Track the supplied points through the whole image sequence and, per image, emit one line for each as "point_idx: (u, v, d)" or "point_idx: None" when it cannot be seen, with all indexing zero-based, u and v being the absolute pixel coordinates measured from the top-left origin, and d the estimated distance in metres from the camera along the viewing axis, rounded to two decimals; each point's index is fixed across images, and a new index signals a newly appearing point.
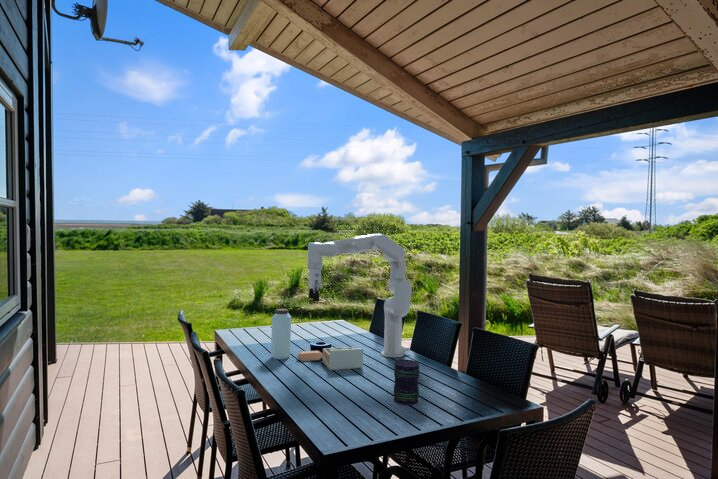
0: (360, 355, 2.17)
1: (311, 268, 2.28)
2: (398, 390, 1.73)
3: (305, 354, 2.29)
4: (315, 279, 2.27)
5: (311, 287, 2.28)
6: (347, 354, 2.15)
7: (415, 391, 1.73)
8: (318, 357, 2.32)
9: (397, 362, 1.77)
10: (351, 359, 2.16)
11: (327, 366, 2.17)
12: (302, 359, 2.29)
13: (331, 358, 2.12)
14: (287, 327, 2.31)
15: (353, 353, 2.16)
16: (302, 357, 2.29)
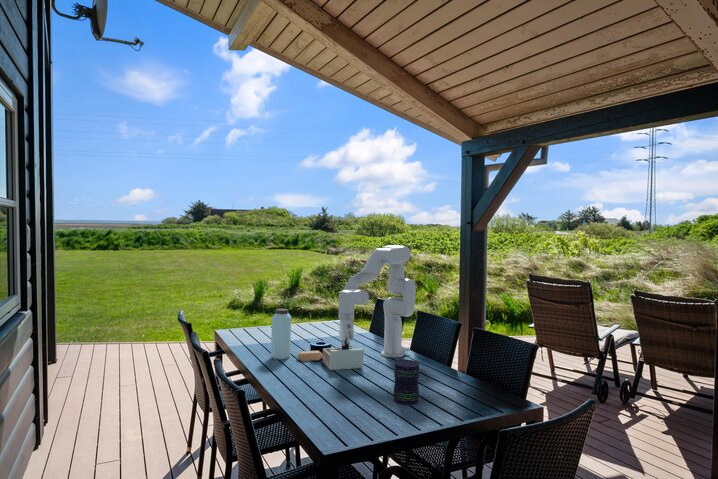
0: (360, 355, 2.17)
1: (343, 318, 2.14)
2: (398, 390, 1.73)
3: (305, 354, 2.29)
4: (347, 330, 2.12)
5: (343, 339, 2.14)
6: (347, 354, 2.14)
7: (415, 391, 1.73)
8: (318, 357, 2.32)
9: (397, 362, 1.77)
10: (351, 359, 2.15)
11: (327, 366, 2.17)
12: (302, 359, 2.29)
13: (331, 358, 2.12)
14: (287, 327, 2.31)
15: (354, 354, 2.15)
16: (302, 357, 2.29)
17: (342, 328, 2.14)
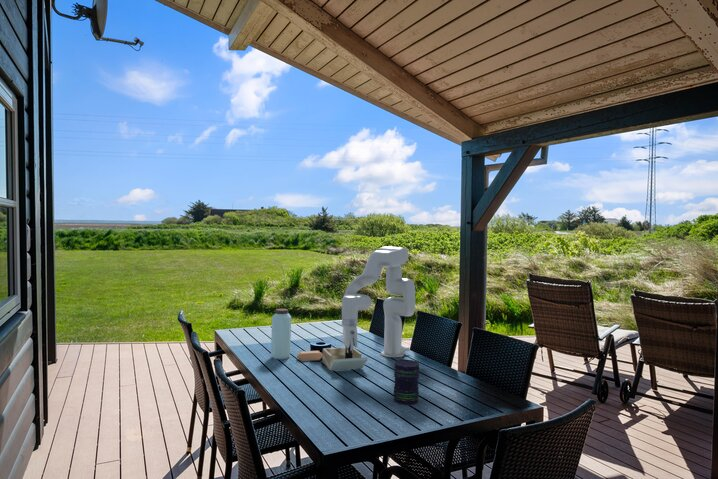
0: (363, 362, 2.13)
1: (346, 325, 2.08)
2: (398, 390, 1.73)
3: (305, 354, 2.29)
4: (351, 337, 2.07)
5: (346, 345, 2.09)
6: (350, 363, 2.10)
7: (415, 391, 1.73)
8: (318, 357, 2.32)
9: (397, 362, 1.77)
10: (353, 365, 2.13)
11: (327, 366, 2.17)
12: (302, 359, 2.29)
13: (333, 365, 2.09)
14: (287, 327, 2.31)
15: (356, 362, 2.11)
16: (302, 357, 2.29)
17: (345, 334, 2.09)
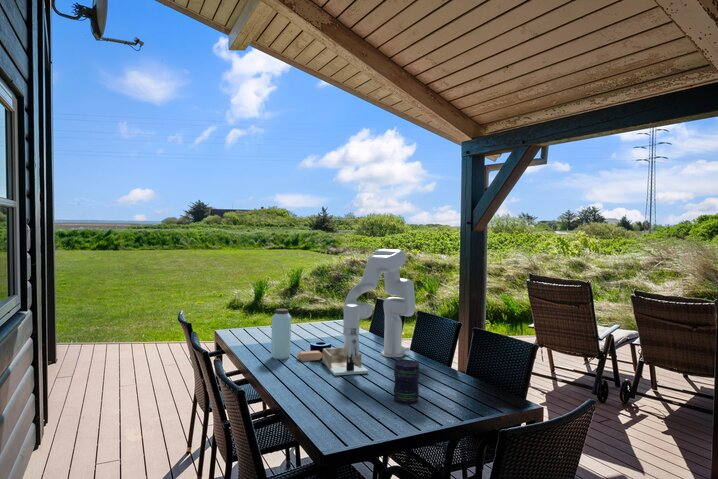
0: None
1: (348, 334, 2.06)
2: (398, 390, 1.73)
3: (305, 354, 2.29)
4: (353, 346, 2.04)
5: (348, 355, 2.06)
6: None
7: (415, 391, 1.73)
8: (318, 357, 2.32)
9: (397, 362, 1.77)
10: None
11: (327, 366, 2.17)
12: (302, 359, 2.29)
13: None
14: (287, 327, 2.31)
15: None
16: (302, 357, 2.29)
17: (347, 344, 2.06)
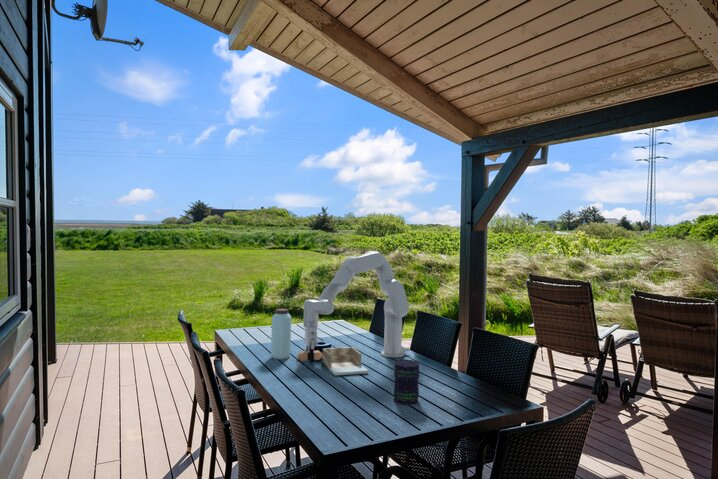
0: None
1: (307, 326, 2.29)
2: (398, 390, 1.73)
3: (305, 354, 2.29)
4: (311, 337, 2.27)
5: (307, 345, 2.29)
6: None
7: (415, 391, 1.73)
8: (318, 357, 2.32)
9: (397, 362, 1.77)
10: None
11: (327, 366, 2.17)
12: (302, 359, 2.29)
13: None
14: (287, 327, 2.31)
15: None
16: (302, 357, 2.29)
17: (306, 335, 2.29)
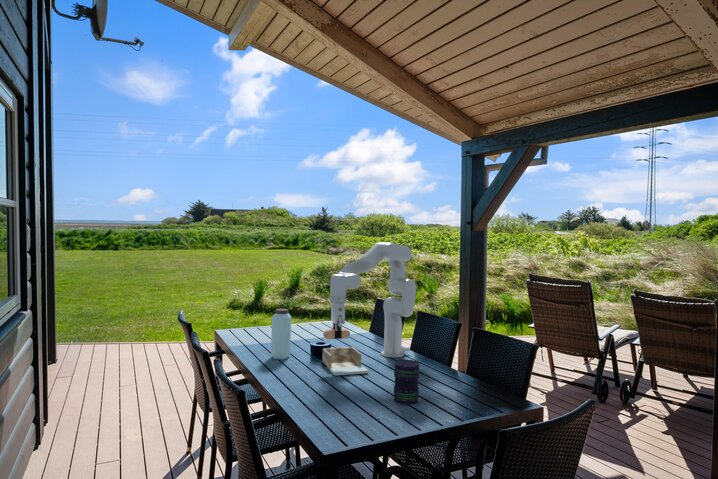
0: None
1: (334, 302, 2.14)
2: (398, 390, 1.73)
3: (332, 332, 2.15)
4: (339, 314, 2.13)
5: (334, 322, 2.14)
6: None
7: (415, 391, 1.73)
8: (346, 335, 2.17)
9: (397, 362, 1.77)
10: None
11: (327, 366, 2.17)
12: (329, 337, 2.14)
13: None
14: (287, 327, 2.31)
15: None
16: (329, 335, 2.14)
17: (333, 312, 2.15)
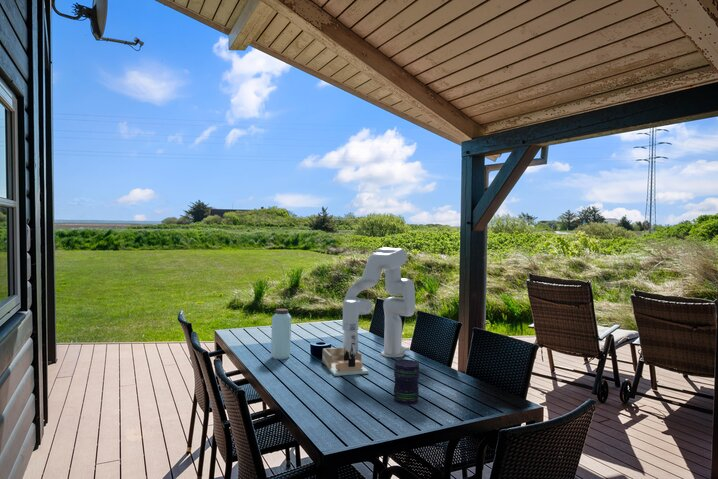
0: None
1: (347, 329, 2.07)
2: (398, 390, 1.73)
3: (345, 364, 2.08)
4: (352, 341, 2.06)
5: (347, 350, 2.08)
6: None
7: (415, 391, 1.73)
8: (359, 367, 2.10)
9: (397, 362, 1.77)
10: None
11: (327, 366, 2.17)
12: (341, 369, 2.07)
13: None
14: (287, 327, 2.31)
15: None
16: (341, 367, 2.07)
17: (346, 339, 2.08)
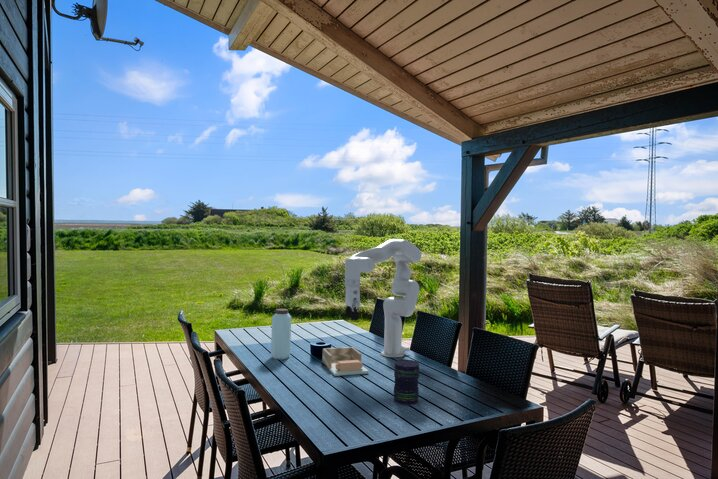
0: None
1: (349, 285, 2.16)
2: (398, 390, 1.73)
3: (345, 364, 2.08)
4: (354, 296, 2.14)
5: (349, 305, 2.16)
6: None
7: (415, 391, 1.73)
8: (359, 367, 2.10)
9: (397, 362, 1.77)
10: None
11: (327, 366, 2.17)
12: (341, 369, 2.07)
13: None
14: (287, 327, 2.31)
15: None
16: (341, 367, 2.07)
17: (348, 295, 2.16)
